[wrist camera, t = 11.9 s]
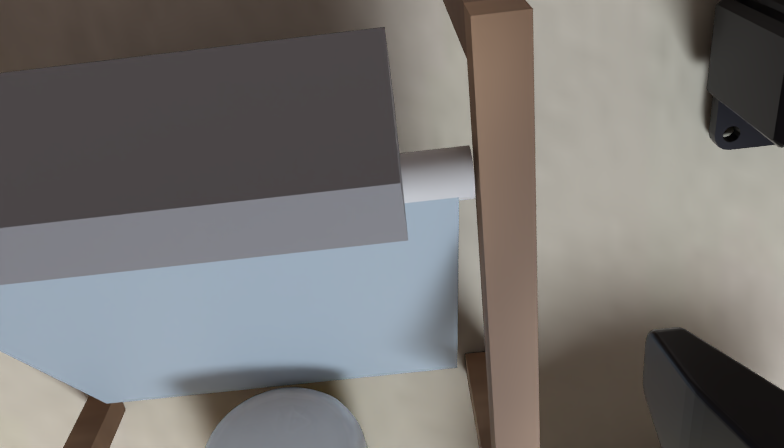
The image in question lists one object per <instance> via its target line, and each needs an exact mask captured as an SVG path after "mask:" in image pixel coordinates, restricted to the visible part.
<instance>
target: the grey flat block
mask: <svg viewBox="0 0 784 448" xmlns="http://www.w3.org/2000/svg"><path fill="white" fill-rule="evenodd" d="M467 199H475V180H474V169H473V161H472V155H471V150H470V147H469V146H460V147H451V148H443V149H434V150H425V151H416V152H407V153H399V145H398V135H397V126H396V116H395V106H394V97H393V89H392V82H391V74H390V66H389V58H388V51H387V43H386V35H385V27H381V28H373V29H364V30H356V31H348V32H339V33H331V34H323V35H314V36H306V37H298V38H289V39H281V40H273V41H264V42H256V43H248V44H239V45H231V46H223V47H214V48H206V49H198V50H189V51H181V52H173V53H164V54H156V55H148V56H139V57H131V58H123V59H114V60H106V61H97V62H89V63H81V64H72V65H64V66H56V67H47V68H39V69H31V70H22V71H14V72H6V73H0V351H1V352H3V353H5V354H7V355H9V356H11V357H13V358H15V359H17V360H19V361H21V362H23V363H25V364H27V365H29V366H31V367H33V368H35V369H37V370H40V371H42V372H44V373H46V374H48V375H50V376H52V377H54V378H56V379H58V380H60V381H62V382H64V383H66V384H68V385H70V386H72V387H74V388H76V389H78V390H80V391H82V392H84V393H86V394H88V395H90V396H92V397H94V398H96V399H98V400H100V401H102V402H104V403H106V404H109V403H119V402H128V401H138V400H148V399H157V398H167V397H177V396H187V395H196V394H206V393H216V392H225V391H235V390H245V389H255V388H264V387H274V386H284V385H294V384H303V383H313V382H323V381H332V380H342V379H352V378H362V377H371V376H381V375H391V374H400V373H410V372H420V371H430V370H439V369H449V368H457V342H458V233H459V200H467Z"/></svg>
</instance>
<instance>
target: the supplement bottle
mask: <svg viewBox="0 0 784 448" xmlns="http://www.w3.org/2000/svg"><path fill="white" fill-rule="evenodd" d="M205 448H367V444H366V441H365V438H364V435H363V432H362V429H361V427H360V425H359V423H358V421H357V420H356V418H355V417H354V416H353V414H352V413H351V412H350V411H349V410H348V408H347V407H345V406H344V405H343V404H342V403H341V402H340V401H339V400H337V399H336V398H334V397H332V396H331V395H329V394H326V393H323V392H319V391H316V390H312V389H307V388H298V387H288V388H278V389H274V390H270V391H266V392H264V393H261V394H258V395H255V396H253V397H251V398H250V399H248V400H246V401H244V402H243V403H241V404H240V405H238V406H237V407H235V408H234V409H233V410H231V411H230V412H229V413H228V414H227V415H226V416H225V417H224V418H223V419H222V420H221V421H220V422H219V424H218V425H217V426H216V428H215V429H214V431H213V432H212V434H211V436H210V438H209V440H208V442H207V444H206V446H205Z"/></svg>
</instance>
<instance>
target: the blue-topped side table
mask: <svg viewBox="0 0 784 448" xmlns="http://www.w3.org/2000/svg"><path fill="white" fill-rule="evenodd" d="M443 2H444V4H445V7H446V9H447V12H448V14H449V16H450V19H451V21H452V24H453V26H454V29H455V31H456V33H457V36H458V38H459V41H460V43H461V46H462V48H463V51H464V53H465V55H466V58H467V65H468V81H469V97H470V113H471V129H472V145H473V161H474V177H475V193H476V209H477V225H478V241H479V257H480V273H481V289H482V305H483V321H484V337H485V352H478V353H468V354H465V358H466V371H467V379H468V385H469V390H470V396H471V402H472V408H473V414H474V420H475V425H476V431H477V437H478V443H479V448H540V425H539V363H538V301H537V240H536V178H535V116H534V55H533V8H532V7H531V6H530V5H529V4H528V3H527V2H526V1H525V0H443ZM124 412H125V407H124V405H123V402H119V403H109V404H106V403H104V402H102V401H100V400H98V399H96V398H94V397H92V396H90V395H89V397H88V399H87V401H86V403H85V405H84V407H83V409H82V411H81V413H80V415H79V417H78V419H77V421H76V423H75V425H74V427H73V429H72V431H71V433H70V435H69V437H68V439H67V441H66V443H65V445H64V447H63V448H110V445H111V443H112V441H113V438H114V436H115V434H116V431H117V429H118V427H119V424H120V422H121V419H122V417H123V415H124Z"/></svg>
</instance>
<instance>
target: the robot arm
mask: <svg viewBox="0 0 784 448" xmlns="http://www.w3.org/2000/svg"><path fill="white" fill-rule="evenodd" d="M707 90H708V91H709V92H710V93H711V94H712V95H713V101H712V110H711V119H710V128H709V135H710V138H711V139H712V141H713V142H714V143H715V144H716V145H717V146H718V147H720V148H722V149H727V150H731V149H740V148H749V147H758V146H767V145H777V146H778V147H781V148H782V147H784V0H720V1H719V3H718V4H717V5H716V8H715V18H714V27H713V36H712V46H711V55H710V65H709V74H708V83H707ZM731 126H734V131H733V133H732V134H731V135H730V136H727V137H723V134H724V131H725V130H726V129H727V128H729V127H731ZM643 388H644V394H645V398H646V401H647V404H648V407H649V410H650V413H651V416H652V419H653V423H654V426H655V429H656V432H657V435H658V438H659V441H660V444H661V447H662V448H784V390H782V389H780V388H779V387H777V386H775V385H774V384H772V383H771V382H769V381H767V380H766V379H764V378H763V377H761V376H759V375H758V374H756V373H755V372H753V371H751V370H750V369H748V368H747V367H745V366H743V365H742V364H740V363H739V362H737V361H735V360H734V359H732V358H730V357H729V356H727V355H726V354H724V353H722V352H721V351H719V350H718V349H716V348H714V347H713V346H711V345H710V344H708V343H706V342H705V341H703V340H702V339H700V338H698V337H697V336H695V335H694V334H692V333H690V332H689V331H687V330H685V329H683V328H680V327H674V328H665V329H655V330H652V331H650V332H649V333H648V335H647V338H646V345H645V358H644V371H643Z"/></svg>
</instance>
